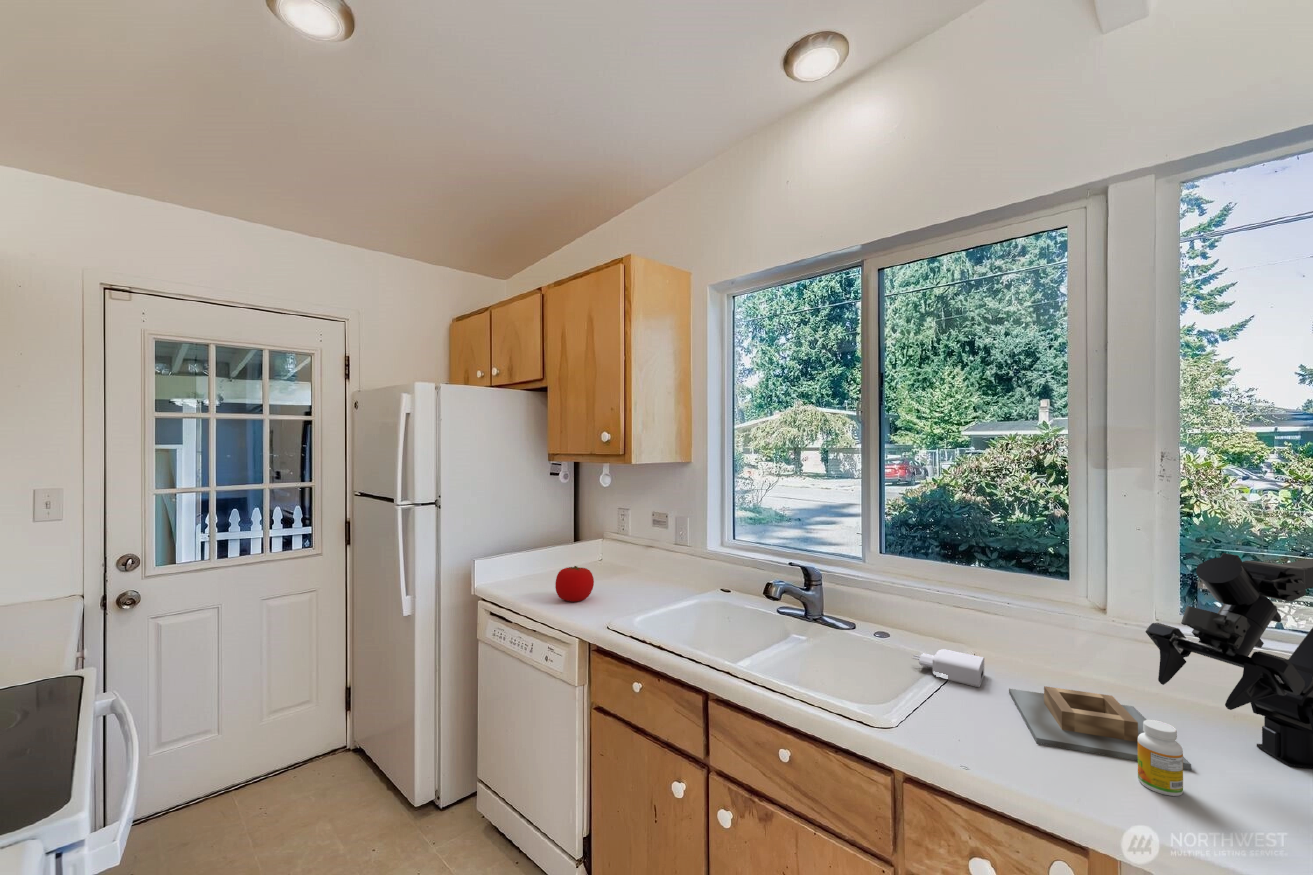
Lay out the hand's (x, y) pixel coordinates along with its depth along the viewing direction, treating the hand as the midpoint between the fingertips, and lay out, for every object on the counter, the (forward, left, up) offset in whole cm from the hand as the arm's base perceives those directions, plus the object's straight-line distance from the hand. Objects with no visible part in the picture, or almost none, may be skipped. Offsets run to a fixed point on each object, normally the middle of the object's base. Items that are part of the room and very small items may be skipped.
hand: (1192, 694), depth 90 cm
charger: (+25, -38, -14) cm, 48 cm away
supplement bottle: (+7, +3, -14) cm, 16 cm away
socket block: (+7, -16, -14) cm, 22 cm away
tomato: (+132, -81, -14) cm, 155 cm away
